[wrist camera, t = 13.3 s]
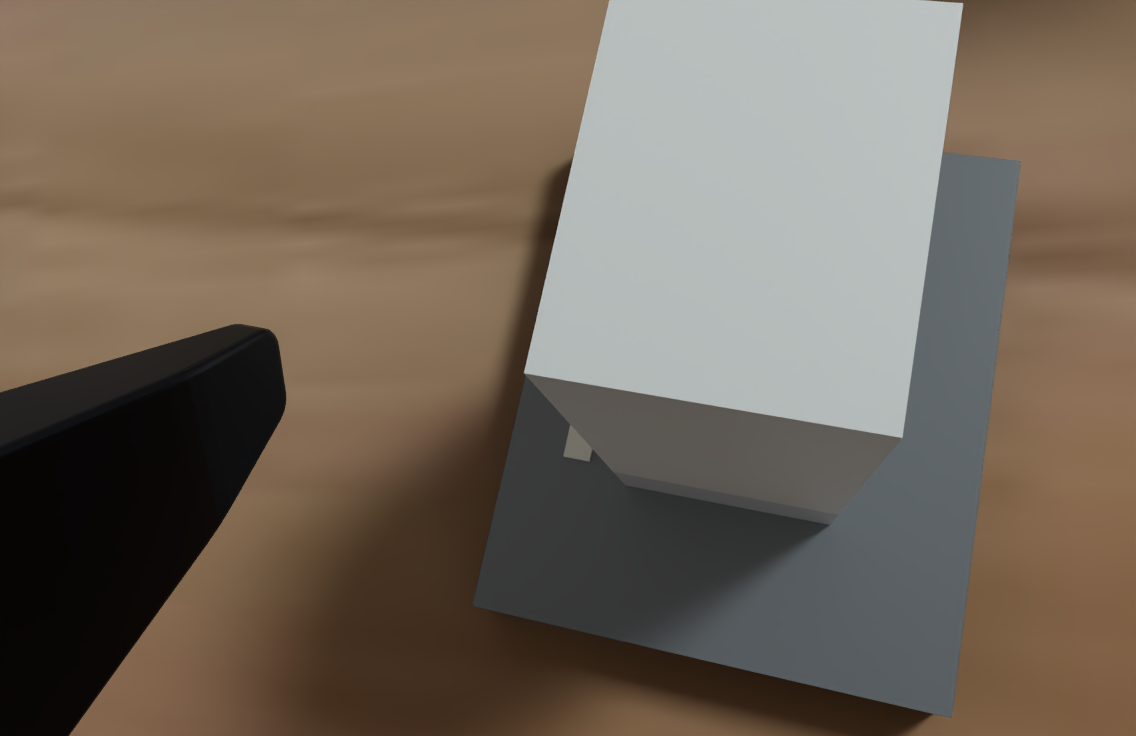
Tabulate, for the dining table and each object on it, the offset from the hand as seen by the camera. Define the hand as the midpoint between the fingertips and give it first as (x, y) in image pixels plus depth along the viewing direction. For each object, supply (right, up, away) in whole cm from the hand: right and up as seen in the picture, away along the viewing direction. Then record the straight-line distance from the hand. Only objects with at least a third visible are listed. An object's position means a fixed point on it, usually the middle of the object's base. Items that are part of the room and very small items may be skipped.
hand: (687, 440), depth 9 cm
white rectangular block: (+3, 0, +12) cm, 12 cm away
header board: (+3, 0, +13) cm, 14 cm away
